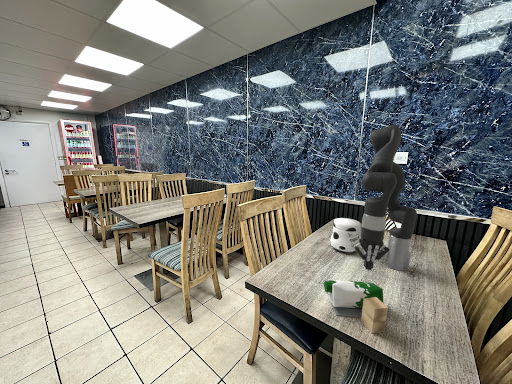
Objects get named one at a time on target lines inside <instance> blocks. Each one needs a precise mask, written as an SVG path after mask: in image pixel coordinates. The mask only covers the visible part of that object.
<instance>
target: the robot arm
mask: <svg viewBox="0 0 512 384" xmlns="http://www.w3.org/2000/svg"><path fill="white" fill-rule="evenodd" d="M370 141H371V144H372V145H371V146H372V148H373V151H374V156H373V158H372V159H371V161H372V162H371V163H370V164H371V165H370V167H369V168H368V169H367V171H366V172H365V173H364V174H363V177H362V178H361V187H362V188H363V190H365V191H366V192H373V193H374V192H376V193H382V194H381V195H380V196H375V197H368V198H366V199H365V202H364V209H363V216H362V218H361V228H360V240H359V243H358V244H356V245H355V244H353V247H354V249H355V250H356V252H355V253H357V255H358V256H359V257H360V258H361V259H362V260H364V261H363V267H364V268H365V269H366V270H367V271H372V269H374V263H375V261H379V260H381V259H382V258H383V257H384V256H386V257H385V266H387V268H390V269H392V270H394V271H399V272H400V271H401V272H404V271H408V270H409V267H410V260H411V255H412V254H411V253H412V252H411V251H410V247H411V242H412V236H413V234H414V231H415V227H416V223H417V218H418V217H417V216H418V214H417V213H418V212H417V210H416V209H415V208H413V207H410V206H406V205H401V204H400V195H401V193H402V192H403V191H404V189H405V186H406V183H407V182H406V177H405V171H404V170H403V168H402V167H401V166H400V165H399V164H398V163H396V162H395V161H394V160H395V156H396V153H397V152H398V150H399V147H400V145H401V143H402V131H401V128H400V126H399V125H396V124H391V125H388V126H384V127H380V128H376V129H373V130H372V131H371V133H370ZM387 215H388V218H389V220H391V221H393V222H394V223H397V224H401V225H400V227H393V228H390V230H389V234H388V235H389V236H388V242H387V246H386V245H385V242H384V241H385V232H386V227H387ZM362 249H363V251H361V250H362Z"/></svg>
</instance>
